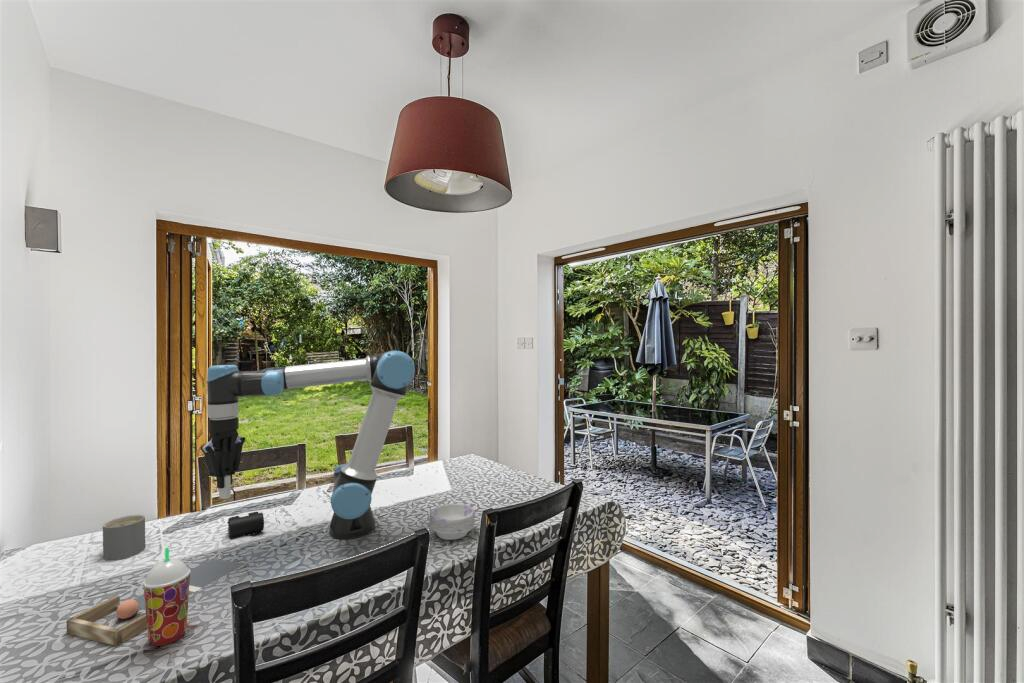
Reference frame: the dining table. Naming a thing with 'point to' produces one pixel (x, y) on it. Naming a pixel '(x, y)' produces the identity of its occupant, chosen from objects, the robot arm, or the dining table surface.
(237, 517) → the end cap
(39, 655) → the dining table surface
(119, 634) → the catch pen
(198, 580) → the lane
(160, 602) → the smoothie
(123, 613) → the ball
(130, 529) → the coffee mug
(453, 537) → the paper bowls
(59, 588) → the dining table surface
